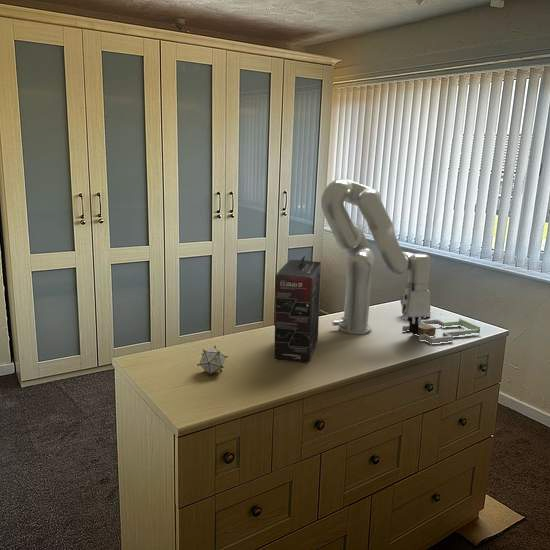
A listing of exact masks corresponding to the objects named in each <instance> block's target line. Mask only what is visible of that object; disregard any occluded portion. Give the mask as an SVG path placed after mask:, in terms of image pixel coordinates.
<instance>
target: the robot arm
mask: <svg viewBox="0 0 550 550" xmlns="http://www.w3.org/2000/svg"><path fill="white" fill-rule="evenodd" d="M320 201H321V203H320V204H321V210H322V212H323V215H324V218H325V220H326V223H327V224H328V226H329V228H330V230H331V233H332V234H333V237H334V238H335V242H336V243H337V245H338V246H339V248H341V249H342V250H344V251H345V252H346V254H347V256H348V259H347V262H346V267H345V268H346V270H345V272H346V277H345V278H346V279H345V282H346V283H345V296H344V297H345V298H344V310H343V311H344V312H343V313H344V314H343V316H342V317H341V319H339V320H332V321H331V322H332V327H333V326H335V327H336V326H338V327H339V331H340V330H341V331H342V332H343V333H347V334H352V335H365V334H366V333H367V334H369V333H371V332H372V326H371V325H369V313H370V312H369V311H370V300H371V287H372V271H373V267H374V264H375V254H374V253H373V250H372V248H371V246H370V244H369V241H368V239H367V238H366V236H365V234H364V232H363V230H362V229H361V227H359V225H357V224H355V223H354V222H353V220H352V219H351V217H350V215H349V212H348V211H347V209H346V207H345V203H348V204H351V205H354V206H356V207H357V208H358V209H359V211H360V213H361V215H362V217H363V218H364V220H365V223H366V225H367V226H368V228H369V231H370V233H371V236H372V238H373V241H374V242H375V244H376V246H377V249H378V251H379V253H380V256H381V258H382V260H383V262H384V264H385V266H386V268H387V269H388V271H389V272H390V273H391V274H393V275H395V276H400V275H403V274H405V273H406V272H407V271H408V274H407V283H406V284H404V287H405V288H406V289H405V291H404V293H403V294H404V298H403V304H402V305H401V313H402V316H401V318H402V319H403V320H407V321H408V323H409V325H410V326H409V331H410V332H409V333H411V334H412V333H413V334H415V333H416V334H417V333H418V326H419V323H420V322H421V321H422V320H424V319H423V318H426V317H427V316H428V315H429V314H430V315H431V313H430V312H431V291H430V290H429V279H430V270H431V269H430V268H431V256H430V255H428V254H425V253H413V252H412V253H411V252H407V251H403V250H402V248H401V245H400V244H399V241H398V239H397V236H396V233H395V232H396V231H395V227H394V224H393V222H392V219H391V218H390V216H389V214H388V212H387V210H386V208H385V206H384V204H383V201H382V196H381V193H380V192H379V191H378V190H377V189H375V188H372V187H369V186H367V185H364V184H361V183H359V182H355V181H353V180H350V179H346V178H338V179H334V180H333V181H331V182H330V183H328V185H327V186H326V188H325V189H324V190H323V193H322V195H321V200H320ZM426 319H427V318H426ZM413 334H412V335H413Z"/></svg>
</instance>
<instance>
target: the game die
mask: <svg viewBox="0 0 550 550" xmlns="http://www.w3.org/2000/svg"><path fill="white" fill-rule="evenodd" d="M202 351H203V353H201V359H200V361H199V363H197V364H196V366H200V367H201V368H203V369H204V370H205V371H206V372H207V373H209V376H208V377H211V376H212V374H214V373H216V372H217V373H218V371H220V372H223V370H222V369H224V367H225V366H223V365H224V363H225V359H226V358H228V357H229V356H228V355H224V354H223V353H222V352H221V351H220V350H218V349H217V346H216V345H214V346H213V348H210V349H207V350H205V349H202Z"/></svg>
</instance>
